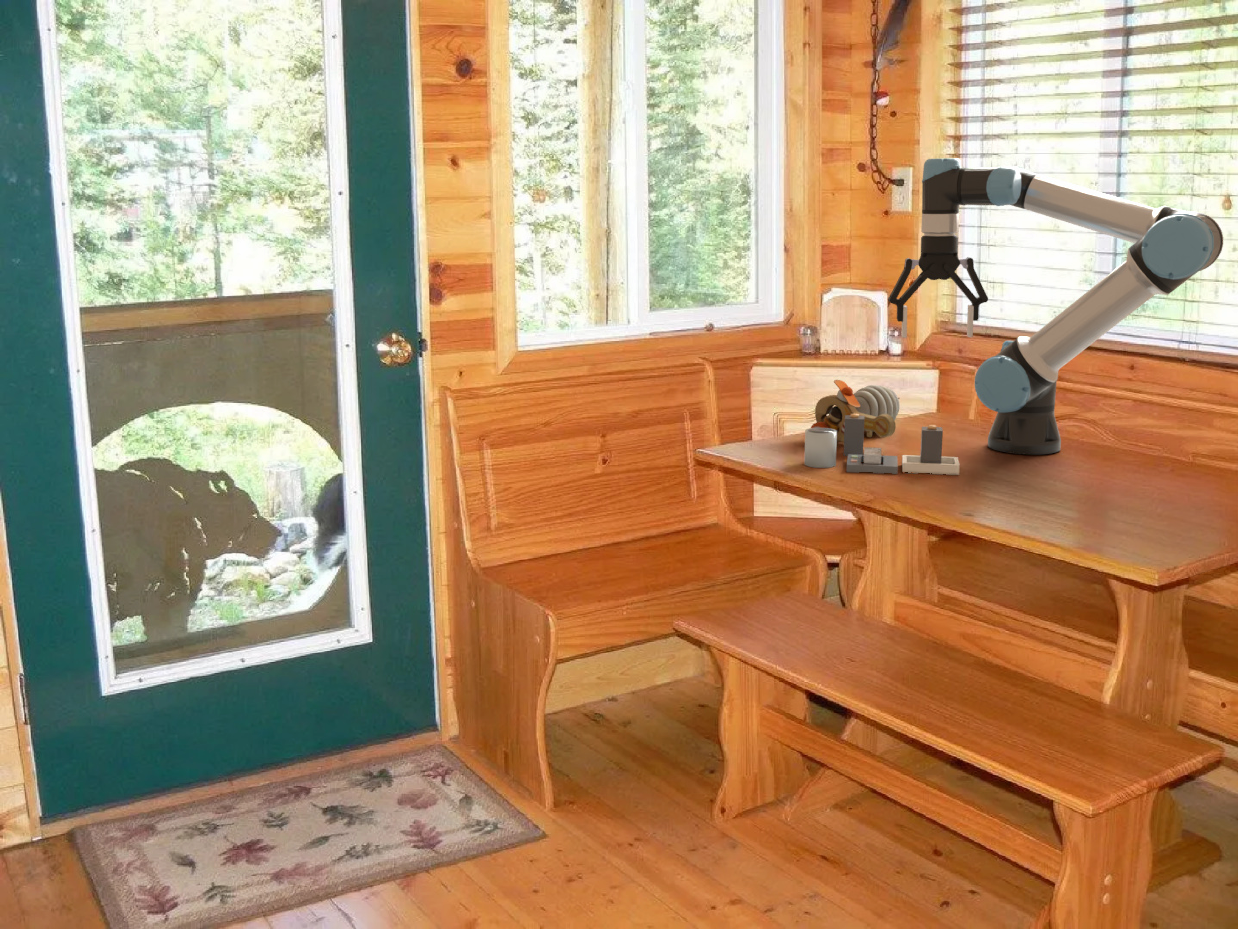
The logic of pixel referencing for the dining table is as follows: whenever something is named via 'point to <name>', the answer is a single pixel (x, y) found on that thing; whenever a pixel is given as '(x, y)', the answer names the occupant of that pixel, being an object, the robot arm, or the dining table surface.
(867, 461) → the grey rectangular block
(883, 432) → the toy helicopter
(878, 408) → the grey ribbed rounded cylinder
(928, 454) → the cell
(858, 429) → the block
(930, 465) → the trough
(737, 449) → the dining table surface
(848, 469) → the base
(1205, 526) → the dining table surface
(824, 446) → the cup
